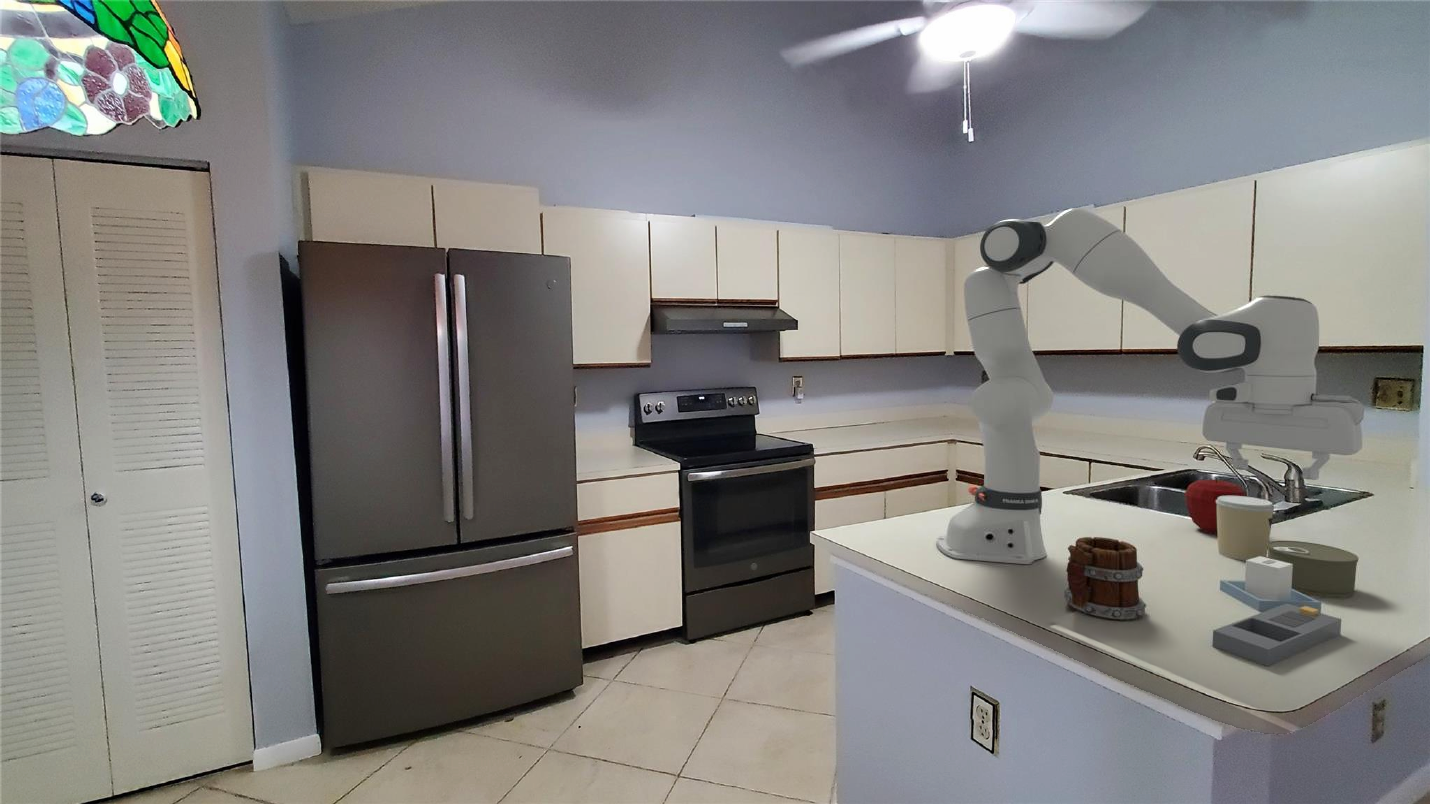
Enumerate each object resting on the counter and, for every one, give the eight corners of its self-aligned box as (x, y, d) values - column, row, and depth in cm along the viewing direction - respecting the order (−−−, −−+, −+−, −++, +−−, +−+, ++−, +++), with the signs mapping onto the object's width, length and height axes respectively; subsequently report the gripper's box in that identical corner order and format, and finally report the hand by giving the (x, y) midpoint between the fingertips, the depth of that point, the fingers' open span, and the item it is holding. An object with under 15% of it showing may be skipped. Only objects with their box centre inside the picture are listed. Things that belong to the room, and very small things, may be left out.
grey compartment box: (1267, 672, 83) (1268, 645, 83) (1212, 651, 89) (1213, 626, 89) (1352, 633, 93) (1354, 610, 93) (1298, 617, 99) (1299, 595, 99)
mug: (1165, 615, 101) (1159, 530, 98) (1113, 649, 95) (1106, 560, 92) (1094, 591, 111) (1088, 514, 109) (1044, 620, 105) (1036, 539, 103)
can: (1374, 602, 105) (1377, 563, 104) (1290, 596, 108) (1292, 558, 108) (1326, 577, 117) (1328, 542, 116) (1251, 572, 120) (1253, 538, 119)
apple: (1250, 541, 138) (1253, 484, 137) (1186, 534, 144) (1188, 479, 143) (1241, 528, 148) (1244, 474, 147) (1181, 522, 154) (1183, 470, 153)
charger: (1276, 609, 101) (1279, 567, 101) (1244, 599, 105) (1246, 559, 105) (1290, 604, 103) (1292, 563, 103) (1257, 594, 107) (1260, 555, 107)
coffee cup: (1283, 564, 124) (1286, 506, 123) (1230, 561, 126) (1233, 505, 125) (1252, 549, 133) (1255, 495, 132) (1203, 547, 135) (1206, 494, 134)
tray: (1258, 615, 100) (1259, 600, 100) (1219, 593, 109) (1220, 580, 109) (1320, 617, 99) (1321, 602, 99) (1275, 595, 108) (1276, 581, 108)
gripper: (1374, 395, 93) (1367, 483, 95) (1218, 389, 112) (1215, 462, 113) (1355, 397, 91) (1348, 487, 92) (1199, 390, 109) (1195, 465, 110)
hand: (1273, 473), depth 103 cm, fingers open, 8 cm apart
